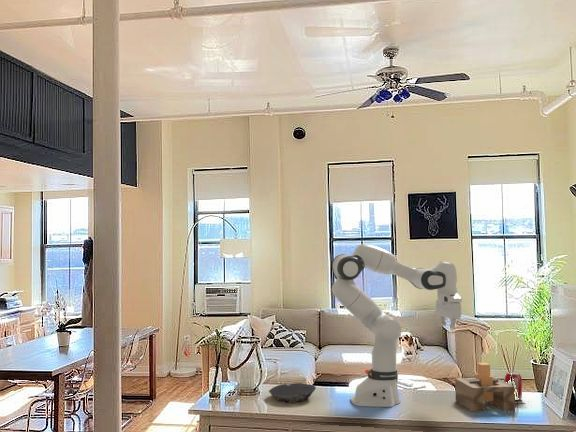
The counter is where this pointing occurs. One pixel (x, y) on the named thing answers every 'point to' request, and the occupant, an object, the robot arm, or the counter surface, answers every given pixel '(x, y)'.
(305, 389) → the bowl
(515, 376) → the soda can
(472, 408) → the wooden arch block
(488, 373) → the stepped wooden block
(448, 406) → the counter surface
